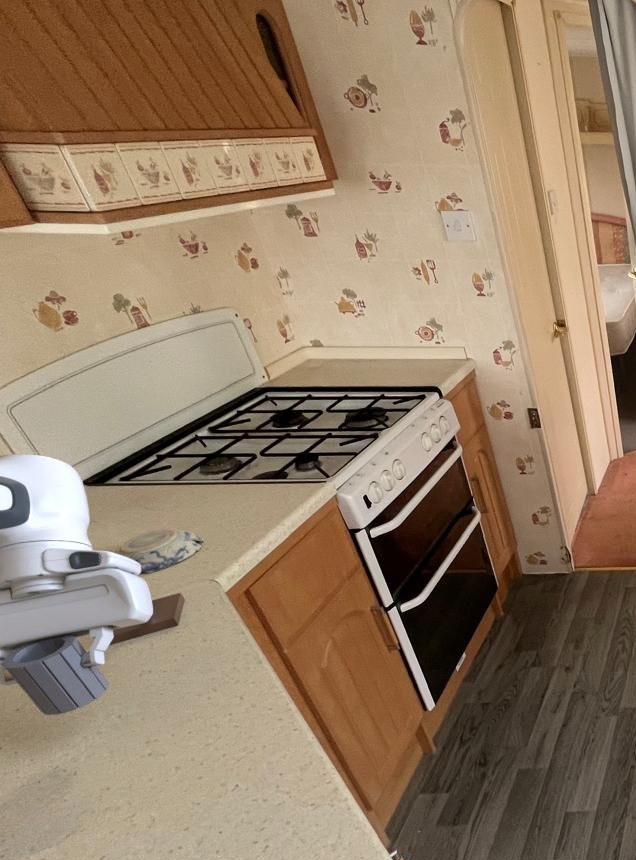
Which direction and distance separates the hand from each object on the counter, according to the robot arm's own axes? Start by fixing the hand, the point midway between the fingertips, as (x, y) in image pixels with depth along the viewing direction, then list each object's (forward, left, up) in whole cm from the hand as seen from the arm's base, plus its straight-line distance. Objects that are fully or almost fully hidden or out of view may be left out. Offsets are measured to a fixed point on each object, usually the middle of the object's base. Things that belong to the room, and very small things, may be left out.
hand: (54, 674), depth 87 cm
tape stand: (+1, +30, -11) cm, 32 cm away
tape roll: (0, +1, -4) cm, 4 cm away
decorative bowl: (-1, +57, -11) cm, 58 cm away
